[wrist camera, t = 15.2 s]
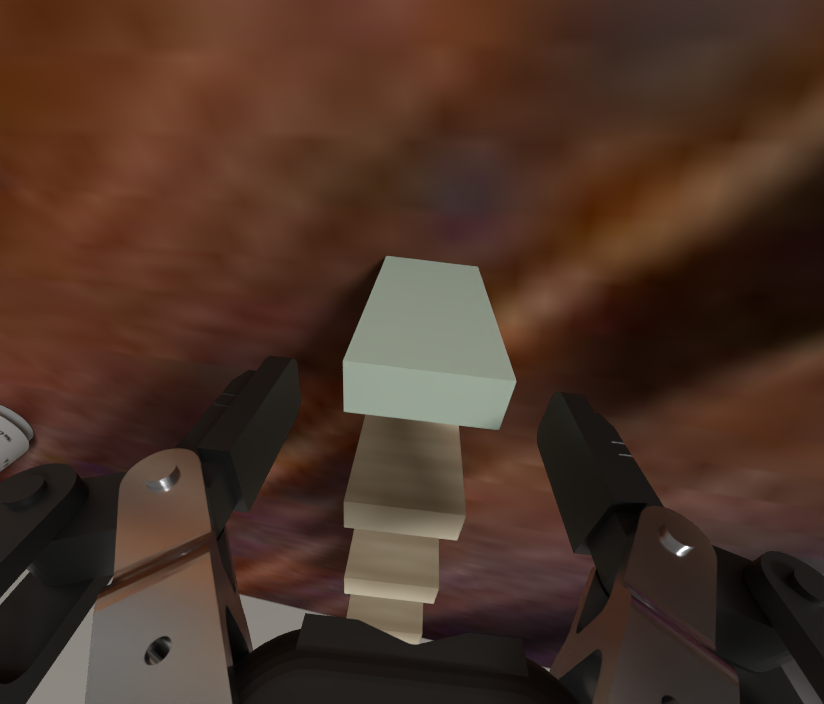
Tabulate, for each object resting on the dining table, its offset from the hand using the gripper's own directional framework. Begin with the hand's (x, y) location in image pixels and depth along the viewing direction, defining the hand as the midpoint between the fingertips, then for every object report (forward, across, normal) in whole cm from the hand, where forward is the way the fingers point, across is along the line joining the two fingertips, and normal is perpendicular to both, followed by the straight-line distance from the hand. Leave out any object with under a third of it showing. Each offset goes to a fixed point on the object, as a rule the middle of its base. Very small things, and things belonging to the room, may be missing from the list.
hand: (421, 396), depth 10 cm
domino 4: (+10, 0, +7) cm, 12 cm away
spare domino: (+10, 0, 0) cm, 10 cm away
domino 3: (+10, 0, +14) cm, 17 cm away
